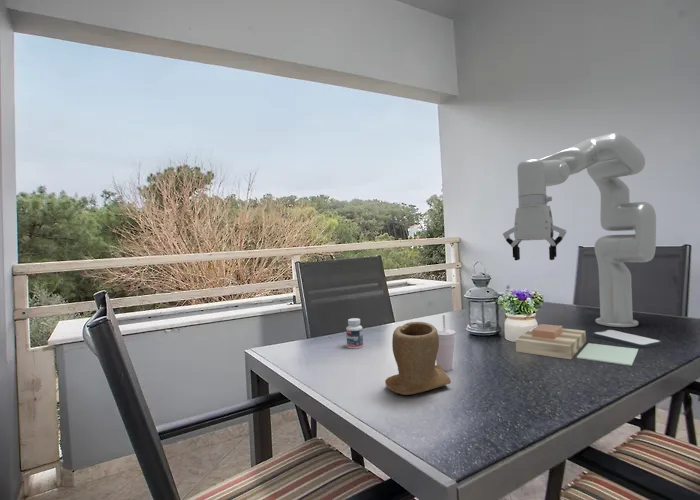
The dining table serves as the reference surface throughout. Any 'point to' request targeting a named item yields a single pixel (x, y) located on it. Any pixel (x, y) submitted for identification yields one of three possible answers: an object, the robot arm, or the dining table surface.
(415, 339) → the stone cup
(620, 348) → the mat
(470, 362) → the dining table surface
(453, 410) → the dining table surface
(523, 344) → the block
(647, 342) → the phone case
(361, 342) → the pill bottle
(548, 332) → the tile
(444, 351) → the smoothie
